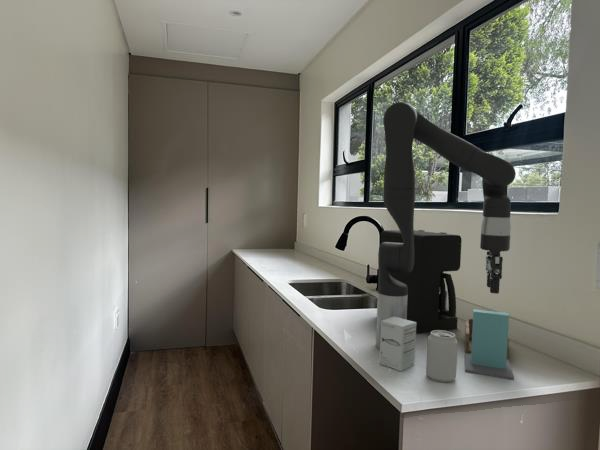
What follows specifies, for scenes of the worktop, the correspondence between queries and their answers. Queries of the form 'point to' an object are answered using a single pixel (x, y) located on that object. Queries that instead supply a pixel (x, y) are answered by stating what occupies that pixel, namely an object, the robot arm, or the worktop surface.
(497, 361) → the teal board
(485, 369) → the charcoal mat
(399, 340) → the supplement box
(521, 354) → the worktop surface
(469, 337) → the walnut rack
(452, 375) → the can
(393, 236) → the coffee maker
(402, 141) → the robot arm
